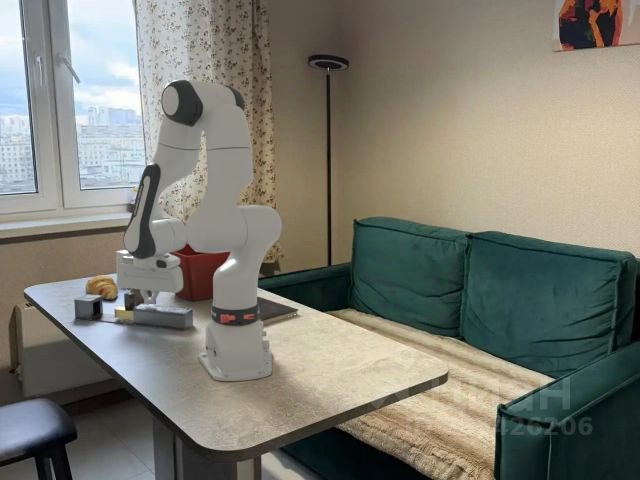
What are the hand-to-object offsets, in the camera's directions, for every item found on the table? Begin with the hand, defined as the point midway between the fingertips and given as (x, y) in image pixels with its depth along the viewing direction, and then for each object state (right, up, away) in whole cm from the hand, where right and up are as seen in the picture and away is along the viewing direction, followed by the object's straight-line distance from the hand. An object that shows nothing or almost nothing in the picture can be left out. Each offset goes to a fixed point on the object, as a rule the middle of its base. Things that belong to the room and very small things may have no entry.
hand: (150, 304), depth 172 cm
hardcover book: (+30, -5, +15) cm, 34 cm away
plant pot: (+8, 0, +32) cm, 33 cm away
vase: (-9, -2, +20) cm, 22 cm away
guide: (-6, -5, +3) cm, 9 cm away
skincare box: (-22, +3, +45) cm, 50 cm away
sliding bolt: (0, -5, +1) cm, 5 cm away
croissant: (-26, 0, +30) cm, 39 cm away
